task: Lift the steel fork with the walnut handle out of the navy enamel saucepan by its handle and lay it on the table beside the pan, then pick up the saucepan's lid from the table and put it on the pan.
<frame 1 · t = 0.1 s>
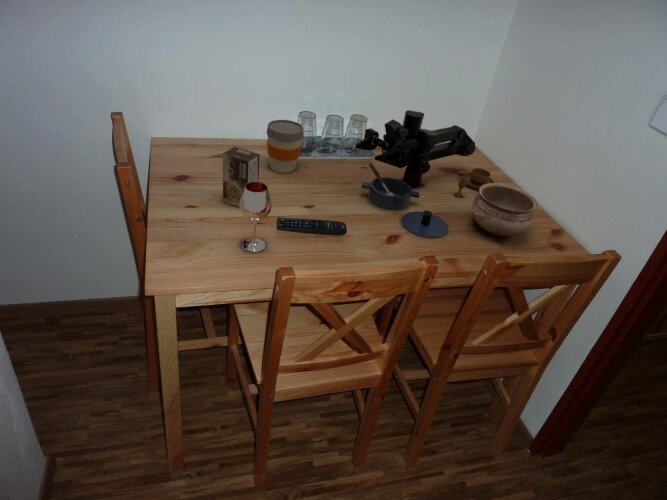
hand: (365, 152, 158), 17 cm above the table, tool horizontal, fingers open, 9 cm apart
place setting: (468, 185, 187), on the table
fork: (382, 184, 168), point 4 cm above the table, touching saucepan
wineglass: (253, 245, 139), on the table
lid: (424, 225, 158), point 1 cm above the table
reusable coffee cup: (282, 167, 179), on the table
saucepan: (387, 201, 168), on the table
cooking pot: (495, 230, 162), on the table
coffee box: (240, 202, 156), on the table
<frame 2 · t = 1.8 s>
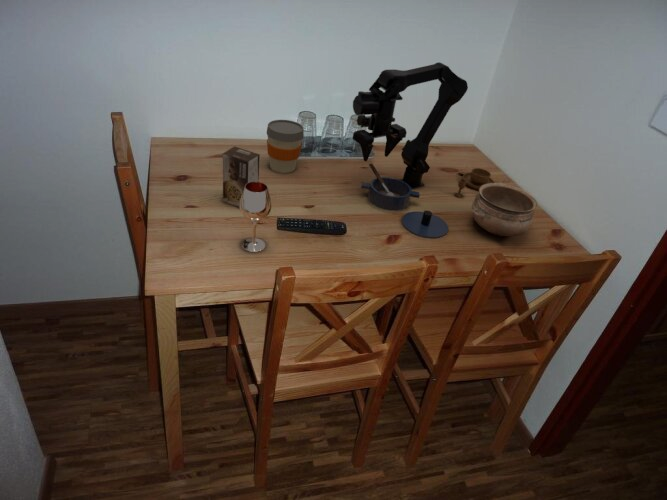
hand: (375, 158, 168), 11 cm above the table, tool pointing down, fingers open, 9 cm apart
nothing on the table moved.
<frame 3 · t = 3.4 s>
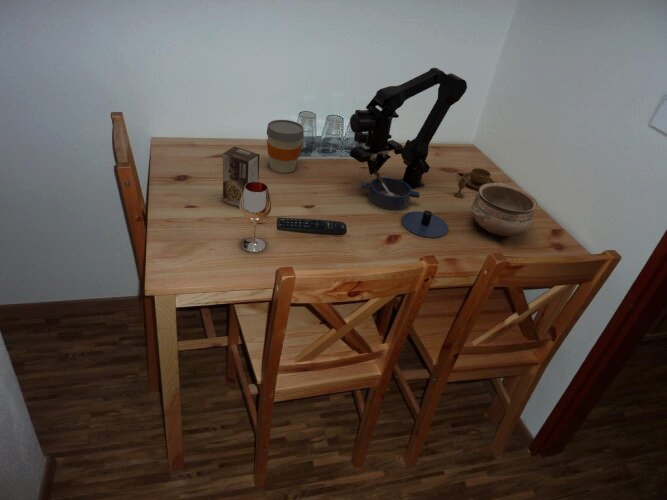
hand: (372, 174, 171), 6 cm above the table, tool pointing down, fingers closed on fork, 1 cm apart
fork: (382, 184, 168), point 4 cm above the table, touching gripper, saucepan
everything else where it was.
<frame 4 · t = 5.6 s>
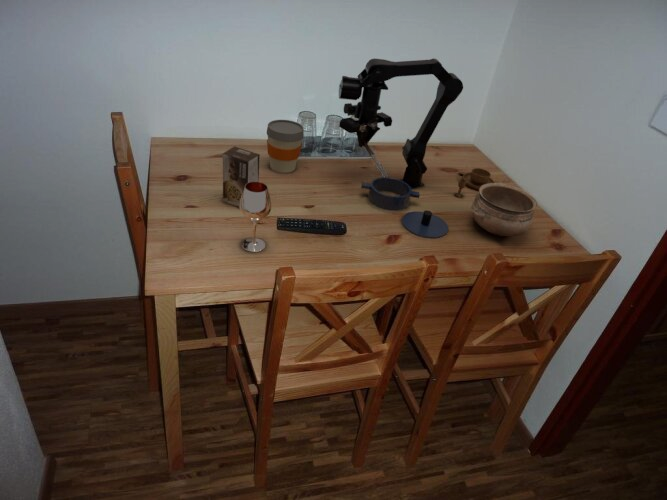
hand: (362, 146, 171), 13 cm above the table, tool pointing down, fingers closed on fork
fork: (372, 156, 169), point 11 cm above the table, touching gripper
everything else where it was.
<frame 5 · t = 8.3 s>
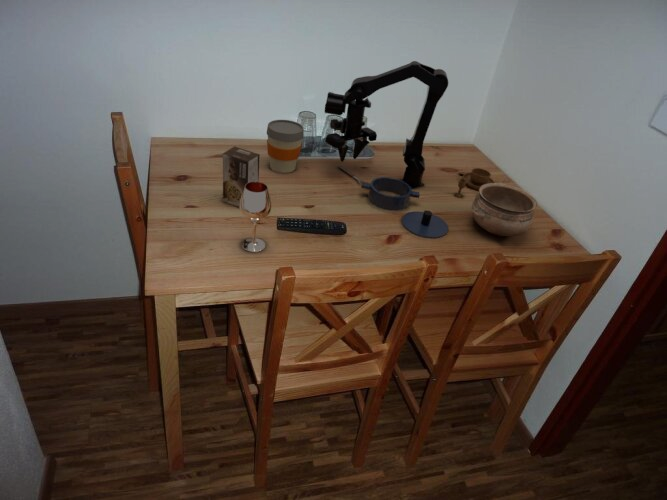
hand: (348, 159, 179), 5 cm above the table, tool pointing down, fingers open, 5 cm apart
fork: (354, 178, 179), on the table, tilted 27°
everything else where it was.
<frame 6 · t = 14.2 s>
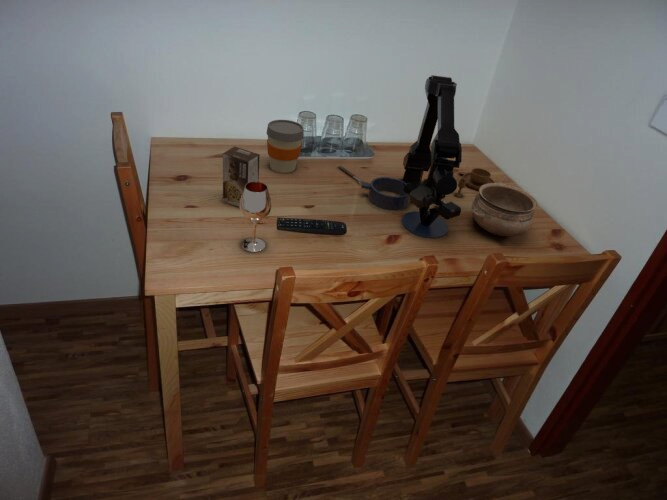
hand: (425, 223, 157), 1 cm above the table, tool pointing down, fingers closed on lid, 3 cm apart
lid: (424, 225, 158), point 1 cm above the table, touching gripper
everything else where it was.
when the fingers open (6 cm above the table, at t = 18.6 s): lid stays where it is, resting on saucepan.
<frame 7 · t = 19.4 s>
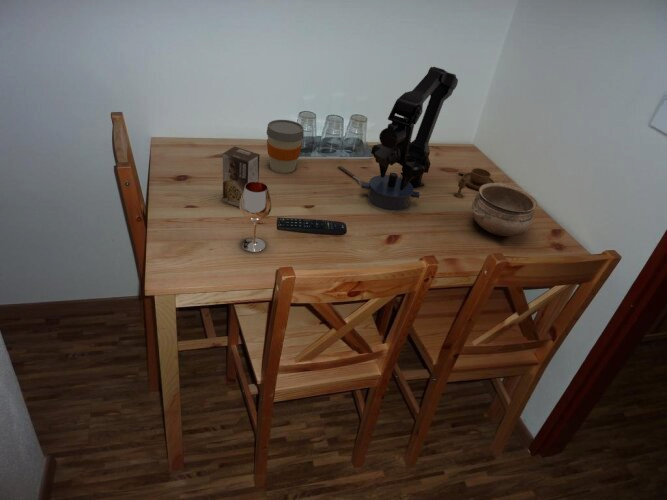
hand: (391, 183, 165), 7 cm above the table, tool pointing down, fingers open, 9 cm apart
lid: (391, 186, 165), point 5 cm above the table, touching saucepan
everything else where it was.
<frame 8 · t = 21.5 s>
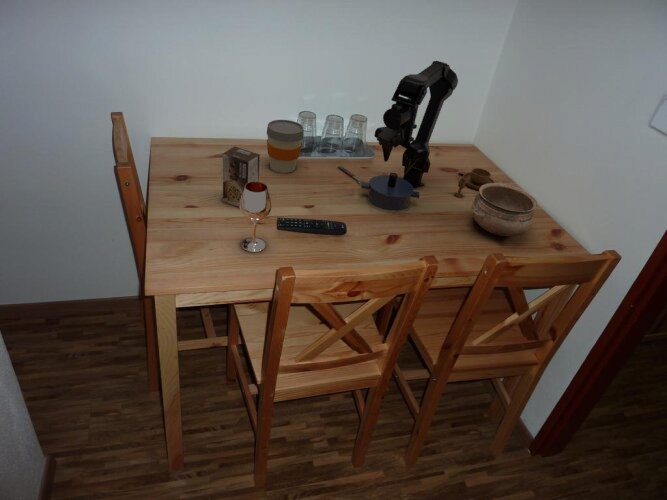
hand: (395, 167, 161), 12 cm above the table, tool pointing down, fingers open, 9 cm apart
nothing on the table moved.
at the end: fork inside the target area (0.4 cm from its centre), on the table; lid 0.0 cm off-centre on the saucepan, point 5.5 cm above the saucepan's base; lid tilted 0° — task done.
